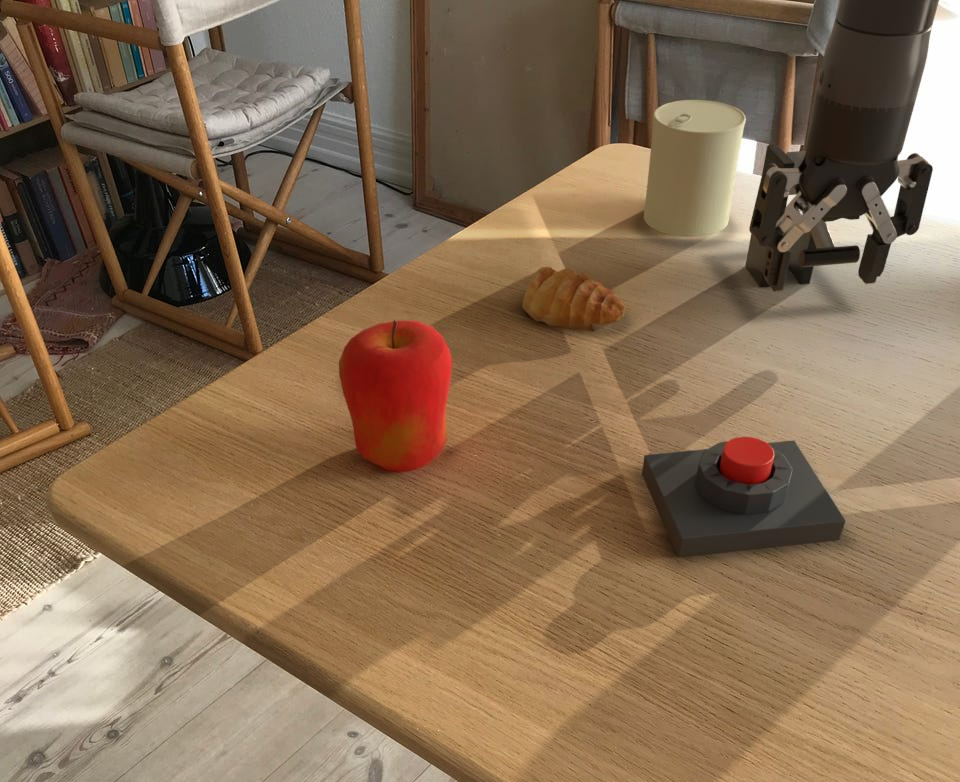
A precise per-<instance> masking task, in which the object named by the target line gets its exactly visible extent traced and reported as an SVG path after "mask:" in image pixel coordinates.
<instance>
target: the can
mask: <svg viewBox="0 0 960 782" xmlns="http://www.w3.org/2000/svg"><path fill="white" fill-rule="evenodd" d="M746 122H747V117H746V114H744V112H743V111H742V110H740V109H739V108H737V107H735V106H733V105H730V104H728V103H723V102H719V101H715V100H705V99H683V100H676V101H672V102H667V103H664V104H662V105H660V106H658V107H657V108H656V109H655V110H654V112H653V114H652V131H651V132H652V134H651V145H650V155H649V162H648V163H649V164H648V174H647V183H646V192H645V193H646V194H645V202H644V209H643V210H644V212H643V220H644V222H645V223H646V224H647V225H648V226H649V227H650V228H652V229H653V230H656V231H658V232H661V233H663V234H667V235H669V236H670V235H671V236H676V237H685V238H686V237H687V238H688V237H689V238H692V237H693V238H695V237H697V238H698V237H706V236H711V235H714V234H717V233H719V232H721V231H723V230H724V229H725V228H726V227H727V226H728V224H729V220H730V213H731V207H732V201H733V193H734V188H735V187H734V186H735V181H736V176H737V170H738V169H737V168H738V163H739V156H740V150H741V144H742V139H743V135H744V128H745V125H746Z"/></svg>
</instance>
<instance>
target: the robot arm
mask: <svg viewBox="0 0 960 782" xmlns="http://www.w3.org/2000/svg"><path fill="white" fill-rule="evenodd" d="M939 2H940V0H838V4H837V7H836V13H835V17H834V21H833V26H832V29H831V32H830V35H829V37H828V40H827V43H826V45H825V50H824V54H823V59H822V63H821V67H820V70H819V72H818V77H817V88H816V92H815V97H814V102H813V106H812V110H811V111H812V112H811V116H810V120H809V125H808V130H807V131H808V132H807V136H806V142H805V150H804V151H805V156H804V158H803V160H802V162H801V163H800V165H799V166H798V168H778V167H777V166H776V165H775V164H774V163H769V164H767V165H766V166H765V167H764V169H763V168H762V172H763V173H761V178H760V181H759V186H758V189H757V195H756V198H755V202H754V207H753V211H752V214H751V215H752V216H751V219H750V222H749V223H750V224H749V227H748V230H749V233H750V235H751V234H752V235H753V236H754V238H755V239H756V240H757V242H758V243H759V244H760V245H761V246H768V249H767V254H766V259H765V265H764V270H763V276H764V279H765V280H766V281H767V283H768V284H769V286H770V287H769V288H770V289H772V291H773V292H782V291H784V288H785V285H786V284H785V283H786V279H787V275H788V271H789V270H788V265H789V261H790V256H791V251H790V250H789V249H790V248H791V247H792V245H793V244H794V243H795V242H796V241H797V240H798V239H799V238H800V237H801V236H802V234H804V233H808V232H809V231H811V229H812V228H813V227H814V226H815V225H816V224H817V223H818V222H819V221H820V220H821V219H822V220H823V221H824V222H826V223H827V222H834V221H839V220H841V219H844V220H850V221H854V220H855V221H856V220H860V217H862V216H863V215H864V216H865V218H866V220H867V223H868V224H869V226H870V228H871V230H872V233H868V234H867V235H866V240H865V244H864V247H863V252H862V255H861V259H860V263H859V266H858V270H857V274H858V275H857V276H858V277H859V279H860V280H861V281H862V282H863V283H864V284H865V285H871V284H872V285H873V284H875V283H876V282H877V278H878V277H881V276H882V275H883V273H884V271H885V267H886V264H887V259H888V257H889V254H890V249H891V245H892V243H894V242H895V240H896V239H897V238H899V237H901V236H903V235H907V236H912V235H914V234H916V233H918V230H919V228H920V224H921V221H922V216H923V213H924V208H925V204H926V200H927V196H928V192H929V187H930V183H931V179H932V176H933V172H934V167H933V165H932V164H931V163H930V162H928V160H927V159H925V158H924V157H923V156H921V155H920V154H918V153H917V152H913V153H911V154H909V155H908V156H907V158H906V159H901V160H899V155H900V154H901V153H902V152H903V151H902V150H904V149H903V148H904V145H905V141H906V137H907V134H908V130H909V127H910V122H911V120H912V115H913V112H914V109H915V104H916V100H917V97H918V93H919V90H920V86H921V82H922V78H923V75H924V70H925V68H926V63H927V60H928V59H927V58H928V53H929V45H930V39H931V33H932V29H933V25H934V20H935V16H936V13H937V9H938V5H939ZM896 180H897V182H898V184H899V185H900V186H899V190H898V195H897V199H896V204H895V208H894V213H893V215H892V216H891V214H890V212H889V210H888V208H887V206H886V204H885V202H884V200H883V197H882V196H883V195H884V194H885V193H886V192H887V191H888V190H889V189H890V187H892V186H893V184H894V183H895V182H896ZM796 184H797V186H798V188H799V190H800V191H799V193H798V194H797V195H794V197H792V199H791V200H790V202H789V203H787V205H786V208H785V212H784V214H783V216H782V217H781V218H780V219H779V220H778V216H779V212H780V208H781V204H782V200H783V198H784V197H787V196H788V197H789V196H790V195H789V192H790V190H791V188H792V187H793V186H794V185H796ZM807 205H808V207H809V210H808V211H807V212H806V213H805V214H803V210H804V209H805V207H806V206H807ZM777 220H778V221H777Z"/></svg>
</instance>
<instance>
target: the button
mask: <svg viewBox="0 0 960 782" xmlns="http://www.w3.org/2000/svg"><path fill="white" fill-rule="evenodd" d="M727 441H728V442H727ZM727 441H726V442H727V443H726V444H725V445H724V447H723V452H722V457H721V462H720V472H721V474H722V475H723V476H724V477H726V478H728V479H729V480H731V481H733V482H738V483H743V484H747V485H749V484H759V483H763V482H764V481H766V480H767V479H768V478H769V476H770V472H771V468H772V464H773V459H774V450H773V449H772V447H771V446H770V445H769V444H768V443H769V442H766V441H765V440H763V439H760V438H757V437H752V436H738V437H734V438H731V439H729V440H727Z"/></svg>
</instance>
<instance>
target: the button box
mask: <svg viewBox="0 0 960 782" xmlns="http://www.w3.org/2000/svg"><path fill="white" fill-rule="evenodd" d="M728 441H729V440H727V441H720V442H718V443H716V444H714V445H712V446H711V447H709V448H703V449H693V450H683V451H674V452H663V453H654V454H653V453H651V454H645V455H644V456H643V462H642V463H643V464H642V470H641V476H642V478H643V481H644V483H645V485H646V487H647V490H648V492H649V494H650V496H651V498H652V501H653V503H654V505H655V507H656V510H657V513H658V514H659V517H660V519H661V521H662V523H663V526H664V528H665V531H666V532H667V535H668V538H669V540H670V542H671V544H672V547H673V548H674V551H675V553H676V556H677V558H678V559H681V558H691V557H698V556H699V557H700V556H709V555H717V554H726V553H735V552H744V551H745V552H746V551H753V550H762V549H771V548H781V547H789V546H799V545H808V544H817V543H825V542H834V541H840V540H841V537H842V533H843V531H844V527H845V524H846V519H845V517H844V516H843V514H842V513H841V511H840V510H839V508H838V506H837V505H836V503H835V502H834V500H833V499H832V497H831V495H830V494H829V492H828V491H827V489H826V487H825V486H824V484H823V483H822V481H821V480H820V478H819V476H818V475H817V473H816V472H815V470H814V468H813V467H812V465H811V463H810V462H809V460H808V459H807V458H806V456H805V454H804V453H803V451H802V450H801V448H800V447H799V445H798V443H797V441H796V440H783V441H773V442H767V443H768V444H769V445H770V446H771V447H772V449H773V450H774V459H773V464H772V468H771V472H770V476H769V478H768V479H767V480H766V481H764V482H763V483H759V484H749V485H747V484H743V483H738V482H733V481H731V480H729V479H728V478H726V477H724V476H723V475H722V474H721V472H720V462H721V457H722V452H723V447H724V445H725V444H726V443H727V442H728Z"/></svg>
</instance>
